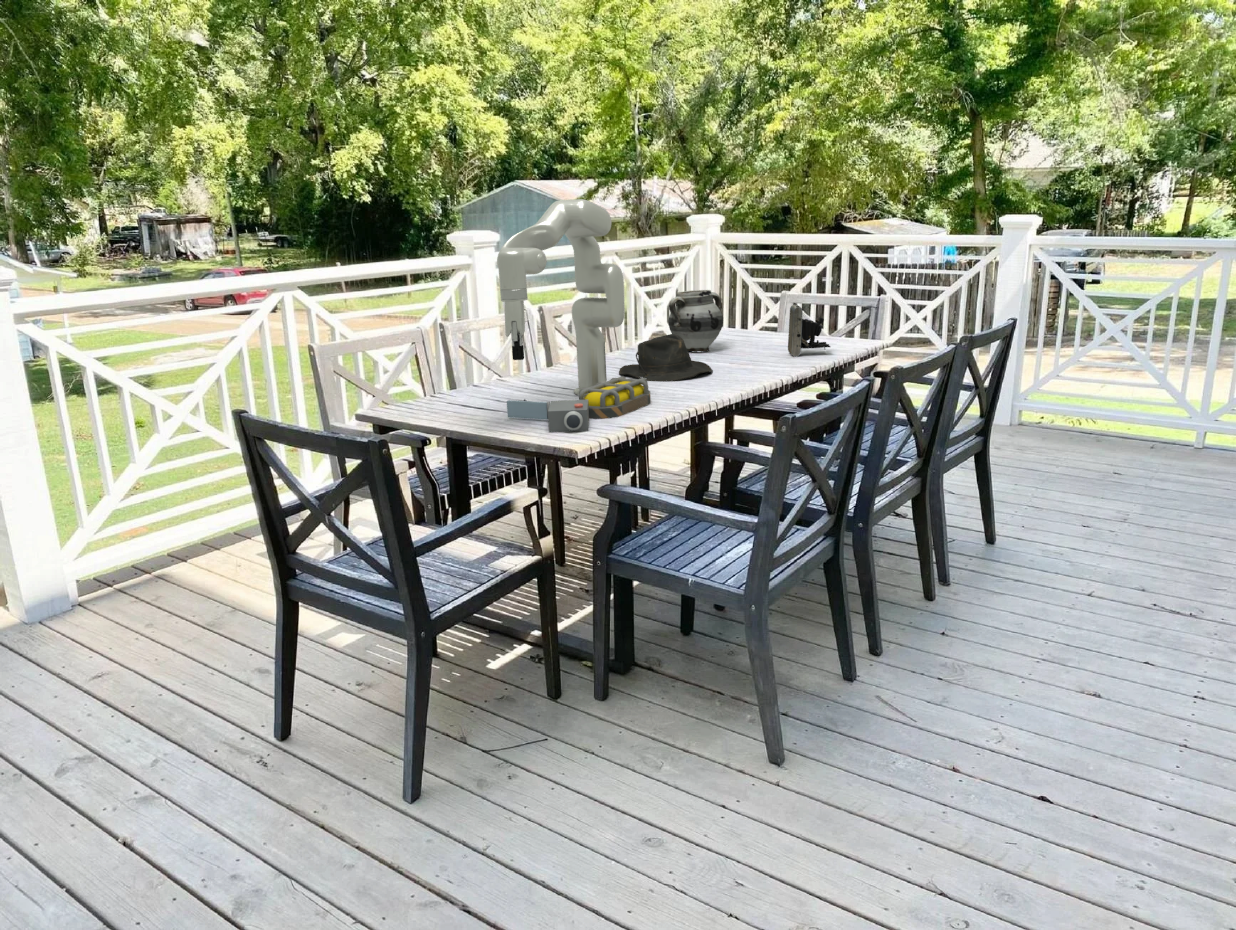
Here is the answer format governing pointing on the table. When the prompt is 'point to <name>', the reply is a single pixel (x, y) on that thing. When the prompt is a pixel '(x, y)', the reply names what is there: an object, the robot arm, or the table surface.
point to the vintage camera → (803, 332)
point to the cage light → (616, 397)
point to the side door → (527, 409)
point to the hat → (664, 361)
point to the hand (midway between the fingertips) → (518, 359)
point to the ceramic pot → (696, 318)
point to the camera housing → (568, 415)
